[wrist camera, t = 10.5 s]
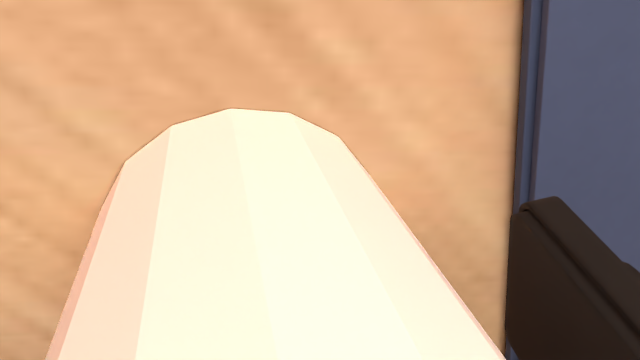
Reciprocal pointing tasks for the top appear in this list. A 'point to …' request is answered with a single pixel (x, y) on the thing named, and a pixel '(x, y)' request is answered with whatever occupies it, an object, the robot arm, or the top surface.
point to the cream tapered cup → (258, 257)
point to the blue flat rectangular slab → (582, 116)
